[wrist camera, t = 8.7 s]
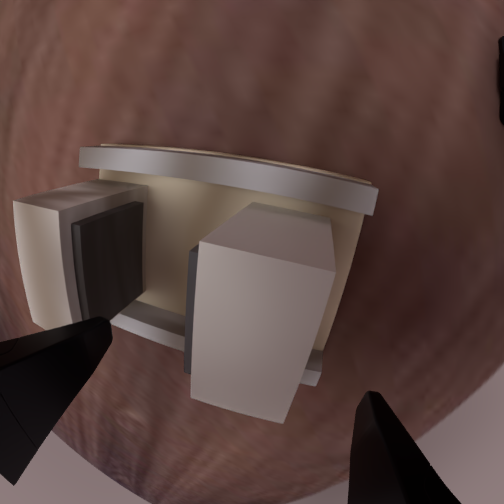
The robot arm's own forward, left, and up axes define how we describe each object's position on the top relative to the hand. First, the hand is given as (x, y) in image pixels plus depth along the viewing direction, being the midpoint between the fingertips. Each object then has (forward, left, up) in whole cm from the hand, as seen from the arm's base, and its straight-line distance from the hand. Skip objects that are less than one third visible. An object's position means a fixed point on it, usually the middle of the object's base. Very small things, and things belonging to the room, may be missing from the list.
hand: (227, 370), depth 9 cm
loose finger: (0, 0, -8) cm, 8 cm away
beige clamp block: (+4, 0, -9) cm, 10 cm away
